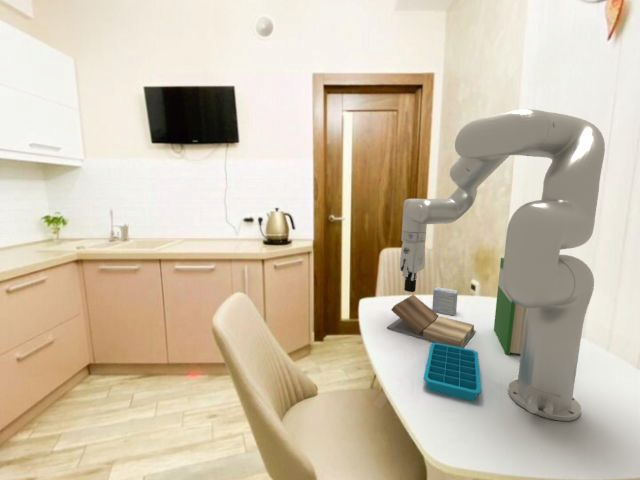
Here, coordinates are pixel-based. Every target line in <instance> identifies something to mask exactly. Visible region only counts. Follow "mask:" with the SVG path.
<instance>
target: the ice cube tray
mask: <svg viewBox="0 0 640 480" xmlns="http://www.w3.org/2000/svg"><path fill="white" fill-rule="evenodd" d="M429 347H430V348H429V351H428V356H427V359H426V360H427V362H426V365H425V368H424V369H425V370H424V373H423V380H424V381H425V382H426V388H427V390H428V391H430V392H434V393H438V394H442V395H445V394H446V396H449V395H450V397H453V396H454V397H455V398H458V399H462V400H465V399H466V401H470V402H475V401H476V400H477V396H478V395H479V394H481V393H482V385H481V383H482V381H481V374H480V373H481V370H480V359H479V352H478V351H476V350H475V349H471V348H465V347H464V348H460V347H455V346H450V345H445V344H440V343H432V342H431V344H430V346H429Z"/></svg>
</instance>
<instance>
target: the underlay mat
mask: <svg viewBox="0 0 640 480" xmlns="http://www.w3.org/2000/svg"><path fill="white" fill-rule="evenodd" d="M386 329H387V330H390V331H394V332H396V333H401V334H403V335H406V336H411V337H413V338H416V339H420V340H422V341H427V342H430V343H431V344H432V343H440V344H445V343H441V342H438V341H435V340H431V339H428V338H425V337H423V332H421V333H420V334H417V333H416V332H415V331H414V330H413V329H412V328H411V327H410V326H408V325H407V324H406V323H405V322H404V321H403V320H402V319H401V318H400V317H398V318H397V319H396V320H395V321H393V322H392V323H390V324H388V325H387V326H386ZM475 334H476V330H475V329H474V331H473V332H472V333H471V335H470V336H469V337H468V339H467V340H466V341H465V342H464V344H463V345H462V346H461V348H465V347H466V346H467V344H468V343H469V342H470V341H471V340H472V338H473V336H474V335H475ZM445 345H448V344H445ZM450 346H451V345H450Z"/></svg>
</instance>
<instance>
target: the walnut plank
mask: <svg viewBox="0 0 640 480" xmlns="http://www.w3.org/2000/svg"><path fill="white" fill-rule="evenodd" d="M391 311H392V312H393V313H394V314H395V315H396V316H398V318H401V319H402V320H403V321H404V322H405V323H406V324H407V325H408V326H410V327H411V328H412V329H413V330H414V331H415V332H416V333H417V334H420V333H421V332H423V331H424V330H425V329H426V328H427V327H428V326H429V325H431V324H432V323H433V322H434V321H435V320H436V319H437V318H439V317H440V316H439V314H437V312H434V311H433V310H432V308H430V306H428V305H426V303H424V302H422V300H421V299H420V298H418V297H417V296H416V295H415V294H411V295H410V296H408V297H407V298H404V299H403V300H401V301H399V302H398V303H396V304H395V305H393V306H392V309H391Z"/></svg>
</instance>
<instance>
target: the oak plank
mask: <svg viewBox="0 0 640 480" xmlns="http://www.w3.org/2000/svg"><path fill="white" fill-rule="evenodd" d="M474 328H475V324H472V323H467V322H463V321H459V320H457V319H456V320H455V319H452V318H448V317H444V316H439V317H438V318H437V319H436V320H435V321H434V322H433V323H432V324H431V325H429V326H428V327H427V328H426V329H425V330H424V331H423V337H425V338H428V339H431V340H435V341H438V342H441V343H445V344H448V345H451V346H455V347H460V348H461V346H462V345H463V344H464V342H465V341H466V340H467V339H468V337H469V336H470V335H471V333H472V332H473V331H474V330H475V329H474Z"/></svg>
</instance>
